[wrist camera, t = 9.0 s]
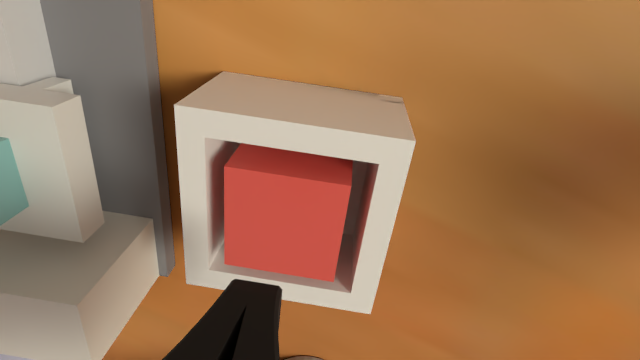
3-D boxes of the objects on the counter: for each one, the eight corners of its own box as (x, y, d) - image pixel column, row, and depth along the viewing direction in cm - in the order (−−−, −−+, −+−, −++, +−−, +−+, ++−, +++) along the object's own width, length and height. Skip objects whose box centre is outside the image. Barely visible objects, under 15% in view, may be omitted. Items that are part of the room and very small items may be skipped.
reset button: (338, 230, 18) (333, 282, 15) (248, 215, 18) (224, 264, 15) (353, 145, 16) (351, 186, 13) (251, 129, 16) (224, 166, 13)
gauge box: (369, 241, 20) (370, 313, 16) (224, 218, 21) (186, 283, 16) (402, 97, 17) (415, 141, 12) (223, 71, 17) (173, 104, 12)
